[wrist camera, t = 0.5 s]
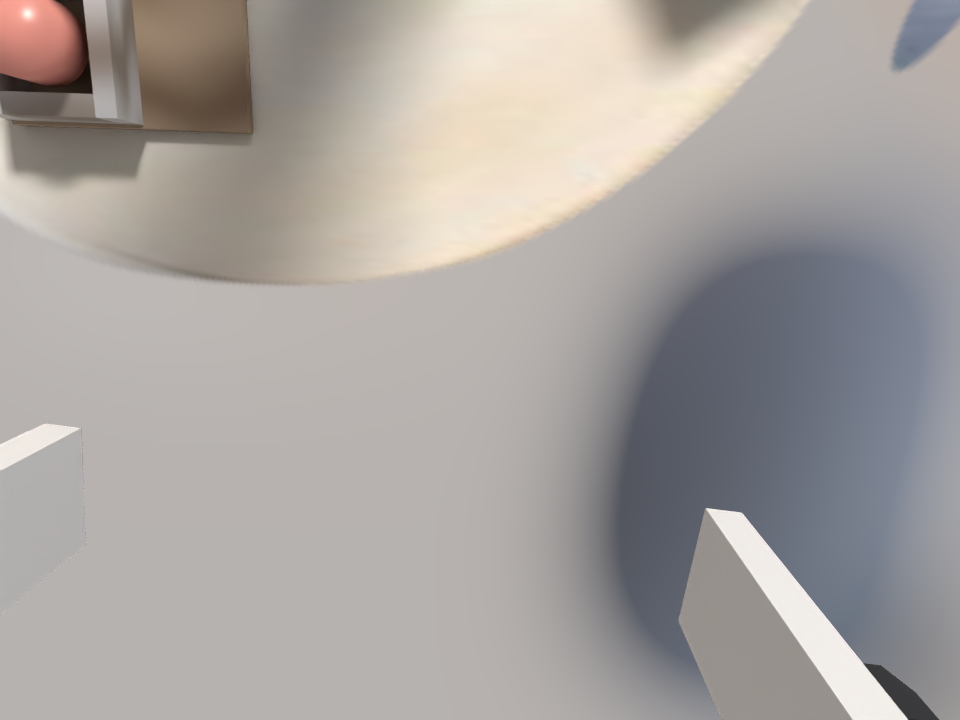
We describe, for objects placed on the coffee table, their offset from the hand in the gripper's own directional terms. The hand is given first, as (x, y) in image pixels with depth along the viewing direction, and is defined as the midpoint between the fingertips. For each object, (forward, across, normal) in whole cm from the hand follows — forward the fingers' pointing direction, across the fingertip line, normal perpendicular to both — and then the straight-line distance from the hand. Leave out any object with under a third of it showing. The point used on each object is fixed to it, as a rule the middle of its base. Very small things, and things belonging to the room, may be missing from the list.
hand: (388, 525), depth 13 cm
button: (+24, -24, +12) cm, 36 cm away
